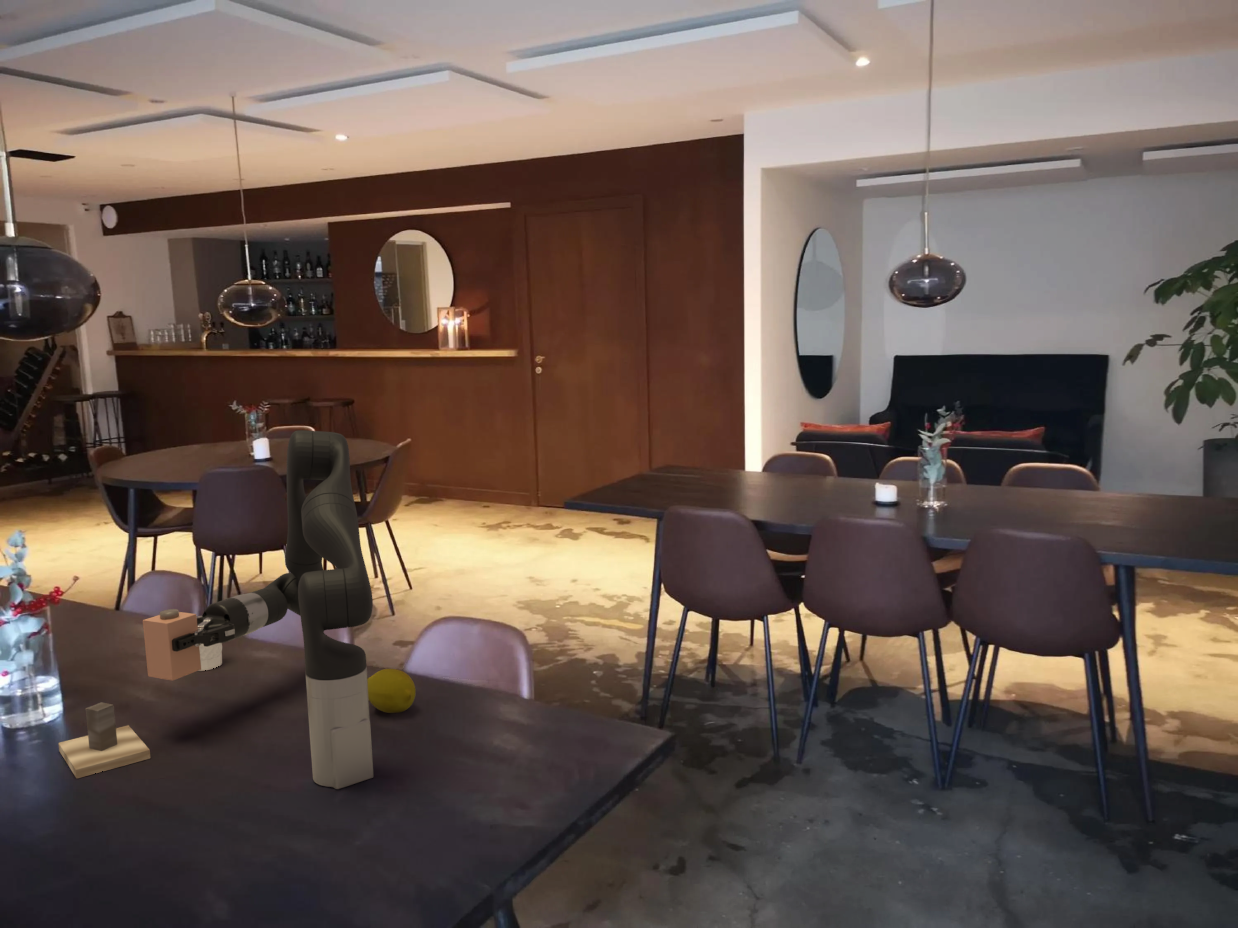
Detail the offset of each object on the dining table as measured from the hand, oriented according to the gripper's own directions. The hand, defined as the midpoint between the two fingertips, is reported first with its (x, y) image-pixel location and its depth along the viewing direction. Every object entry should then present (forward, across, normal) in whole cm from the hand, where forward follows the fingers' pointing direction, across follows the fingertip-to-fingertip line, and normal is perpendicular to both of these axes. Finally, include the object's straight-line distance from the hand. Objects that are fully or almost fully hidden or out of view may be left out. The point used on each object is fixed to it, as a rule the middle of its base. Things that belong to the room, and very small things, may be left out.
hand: (160, 643), depth 166 cm
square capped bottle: (-2, 0, +6) cm, 6 cm away
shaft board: (+8, -6, +18) cm, 20 cm away
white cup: (-31, -26, +18) cm, 45 cm away
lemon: (-26, +27, +18) cm, 42 cm away
